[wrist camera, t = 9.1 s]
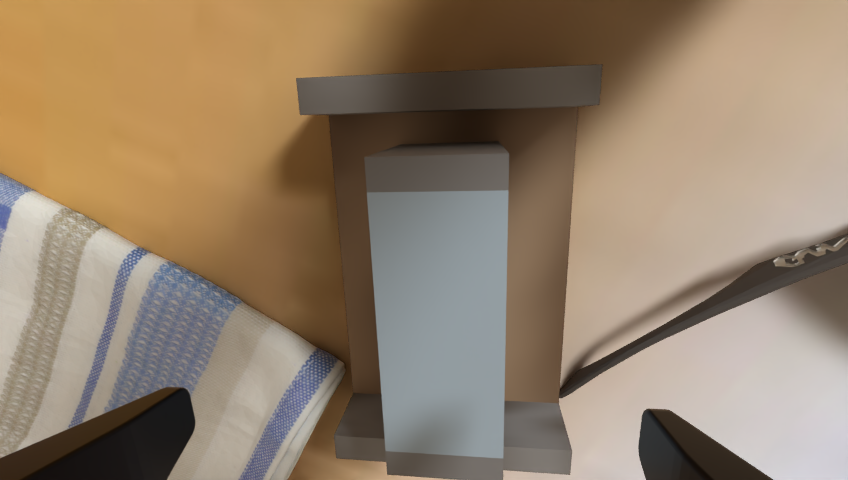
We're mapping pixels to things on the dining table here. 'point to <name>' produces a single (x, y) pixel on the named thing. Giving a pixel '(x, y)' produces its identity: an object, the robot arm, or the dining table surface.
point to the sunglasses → (729, 300)
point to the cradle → (527, 227)
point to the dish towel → (144, 346)
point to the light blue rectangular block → (441, 305)
